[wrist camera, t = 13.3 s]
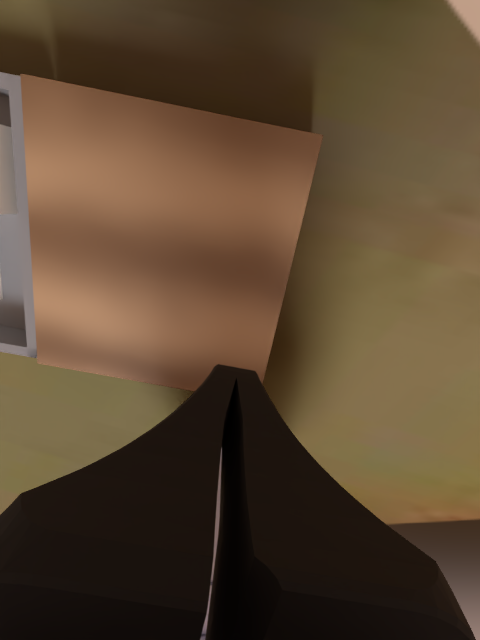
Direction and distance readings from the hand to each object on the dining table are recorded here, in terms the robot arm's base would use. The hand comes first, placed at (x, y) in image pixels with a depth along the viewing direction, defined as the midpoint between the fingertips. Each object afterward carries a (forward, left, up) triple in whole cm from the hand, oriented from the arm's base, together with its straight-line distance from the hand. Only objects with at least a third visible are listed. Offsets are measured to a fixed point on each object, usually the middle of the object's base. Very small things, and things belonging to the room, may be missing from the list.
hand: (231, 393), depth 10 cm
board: (+2, +5, -10) cm, 11 cm away
